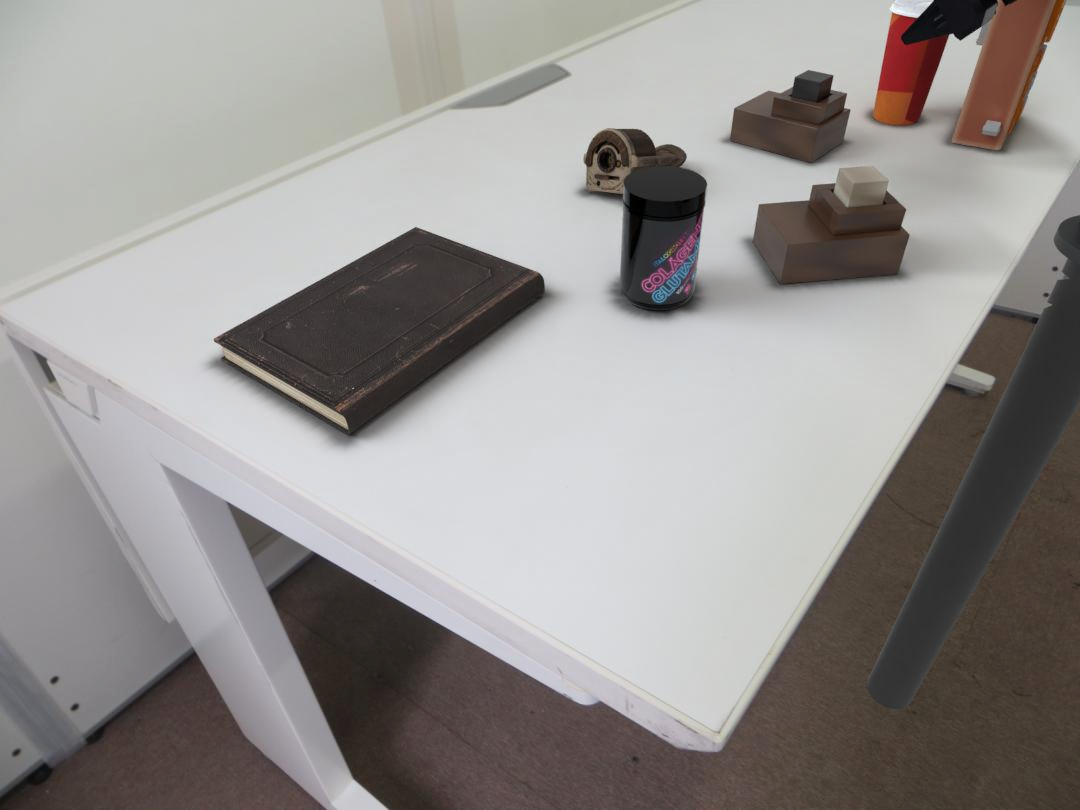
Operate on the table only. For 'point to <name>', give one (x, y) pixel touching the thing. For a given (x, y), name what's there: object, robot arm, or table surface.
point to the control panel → (1005, 70)
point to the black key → (812, 86)
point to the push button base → (791, 124)
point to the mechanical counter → (624, 157)
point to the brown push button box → (830, 237)
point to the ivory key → (860, 186)
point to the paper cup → (906, 67)
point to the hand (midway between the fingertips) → (903, 40)
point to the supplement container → (661, 236)
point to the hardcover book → (378, 325)
